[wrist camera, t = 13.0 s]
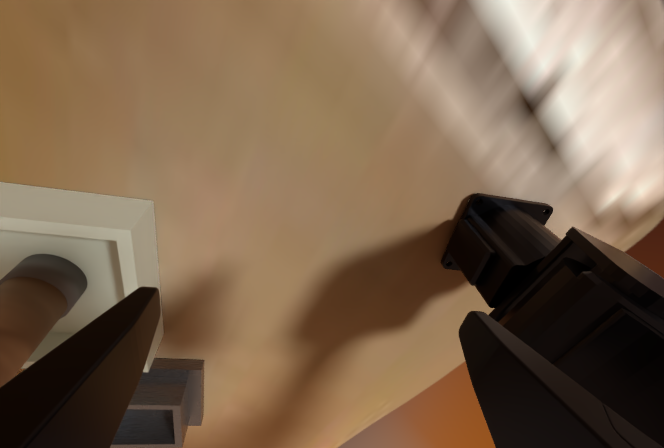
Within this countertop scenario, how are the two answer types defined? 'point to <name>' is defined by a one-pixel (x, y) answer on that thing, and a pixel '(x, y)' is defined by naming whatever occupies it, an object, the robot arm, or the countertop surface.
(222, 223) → the countertop surface
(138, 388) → the socket block
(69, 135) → the countertop surface
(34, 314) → the brown bulb shape
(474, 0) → the countertop surface
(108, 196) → the tray
